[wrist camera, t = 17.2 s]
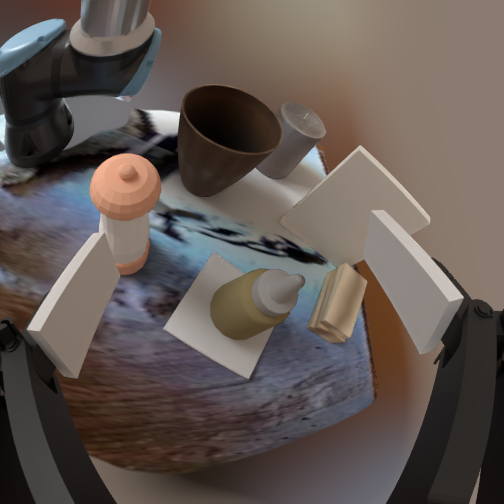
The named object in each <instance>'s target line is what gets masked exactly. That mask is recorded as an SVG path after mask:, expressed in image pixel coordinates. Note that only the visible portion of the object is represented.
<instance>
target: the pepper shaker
mask: <svg viewBox="0 0 504 504" xmlns="http://www.w3.org/2000/svg"><path fill="white" fill-rule="evenodd" d="M160 193H161V180H160V176H159V174H158V172H157V169H156V168H155V167H154V166H153V165H152V164H151V163H150V162H149V161H148V160H147V159H145V158H143V157H141V156H139V155H135V154H119V155H116V156H113V157H111V158H109V159H107V160H106V161H104V162H103V163H102V164H101V165H100V166H99V167H98V168H97V169H96V171H95V173H94V175H93V177H92V180H91V183H90V196H91V199H92V202H93V204H94V205H95V206H96V208H97V209H98V210H99V211H100V215H101V218H100V224H99V233H100V232H105V234H106V237H107V240H108V243H109V246H110V249H111V252H112V254H113V257H114V260H115V263H116V265H117V268H118V271H119V273H120V275H130V274H133V273H135V272H137V271H138V270H140V269H141V268H142V267H143V266H144V264H145V262H146V261H147V257H148V252H149V247H150V240H149V234H150V228H149V219H148V213H149V211H150V210H151V209H152V208H153V206H154V205H155V204H156V202H157V201H158V200H159V196H160Z"/></svg>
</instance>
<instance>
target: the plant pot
mask: <svg viewBox="0 0 504 504" xmlns="http://www.w3.org/2000/svg"><path fill="white" fill-rule="evenodd" d="M282 139H283V129H282V126H281V123H280V121H279V119H278V117H277V116H276V114H275V113H274V112H273V111H272V110H271V108H269V106H267V105H266V104H265V103H264V102H263V101H261V100H260V99H259V98H257V97H255V96H254V95H252V94H250V93H248V92H246V91H244V90H241V89H238V88H236V87H232V86H227V85H221V84H207V85H202V86H198V87H196V88H194V89H192V90H191V91H189V92H188V93H187V94H186V95H185V97H184V99H183V101H182V107H181V112H180V119H179V128H178V161H179V169H180V174H181V179H182V182H183V184H184V186H185V187H186V189H187V190H188V191H190V192H191V193H193V194H195V195H197V196H201V197H209V196H212V195H215V194H217V193H219V192H220V191H222V190H224V189H226V188H227V187H229V186H231V185H232V184H234V183H235V182H237V181H238V180H240V179H241V178H243V177H244V176H245V175H247V174H248V173H249V172H250V171H252V170H253V169H254V168H255V167H256V166H258V165H259V164H260V163H261V162H262V161H263V160H264V159H265V158H267V157H268V156H269V155H270V154H271V153H272V152H273V151H274V150H275V149H276V148H277V147H278V146H279V145H280V144H281V142H282Z"/></svg>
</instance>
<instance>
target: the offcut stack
mask: <svg viewBox="0 0 504 504" xmlns="http://www.w3.org/2000/svg"><path fill="white" fill-rule="evenodd" d="M366 285H367V281H366V280H365V279H364V278H363V277H362V276H361V275H360V274H358V273H357V272H356V271H355V270H354V269H353V268H352V267H350V266H349V265H348V264H347V263H344V264H342V265H340V266H339V268H337V269H335V270H333V271H331V272H329V273H327V275H326V277H325V280H324V283H323V286H322V289H321V291H320V294H319V297H318V299H317V302H316V305H315V307H314V310H313V313H312V315H311V318H310V320H309V323H308V325H307V329H309V330H311V331H312V332H314V333H315V334H317V335H318V336H320V337H322V338H323V339H325V340H326V341H328V342H330V343H335V342H337V343H342V342H345V340H346V339H347V338H350V337H351V334H352V331H353V328H354V325H355V322H356V319H357V316H358V312H359V309H360V306H361V302H362V299H363V295H364V292H365V288H366Z"/></svg>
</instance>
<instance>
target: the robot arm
mask: <svg viewBox="0 0 504 504" xmlns="http://www.w3.org/2000/svg"><path fill="white" fill-rule="evenodd" d="M150 2H151V0H82V4H81V19H79V20H78V21H77V23H76V24H75V25H74V26H73V28H72V29H66V23H65V21H64V20H62V19H60V20H59V19H52V20H48V21H44V22H41V23H38V24H36V25H33V26H31V27H29V28H27V29H25V30H23V31H21V32H20V33H18V34H16V35H15V36H14V37H13V38H11V39H10V40H8V41H7V42H6V43H5V44H4V45H3V46H2V47H1V49H0V97H1V102H2V107H3V111H4V115H5V119H6V126H5V150H6V153H7V156H8V158H9V160H10V161H11V162H12V163H13V164H15V165H17V166H20V167H32V166H36V165H40V164H42V163H45V162H47V161H49V160H50V159H52V158H54V157H55V156H56V155H58V154H59V153H60V152H61V151H62V150H63V149H64V148H65V147H66V146H67V145H68V143H69V142H70V140H71V138H72V136H73V132H74V121H73V115H72V113H71V111H70V109H69V107H68V105H67V103H66V101H65V99H64V98H67V97H92V96H93V97H95V96H98V97H102V96H103V97H104V96H105V97H119V96H133V95H136V94H138V93H139V92H140V91H141V90H142V89H143V87H144V86H145V84H146V82H147V79H148V77H149V75H150V72H151V69H152V66H153V63H154V60H155V58H156V56H157V52H158V49H159V46H160V42H161V36H162V32H161V30H160V29H157V28H155V22H154V19H153V17H152V15H151V14H150V13H149V12H148V9H149V6H150ZM363 258H364V260H365V261H366V263H367V264H368V266H369V267H370V269H371V271H372V272H373V273H374V275H375V277H376V278H377V280H378V282H379V283H380V285H381V286H382V288H383V290H384V291H385V293H386V294H387V296H388V298H389V299H390V301H391V303H392V304H393V306H394V308H395V310H396V311H397V313H398V315H399V316H400V318H401V320H402V322H403V324H404V326H405V327H406V329H407V331H408V333H409V334H410V336H411V338H412V340H413V342H414V344H415V346H416V347H417V350H418V351H419V353H420V355H421V354H424V353H427V352H430V351H433V350H435V349H436V347H437V345H438V344H439V342H440V341H441V340H442V342H443V344H444V347H443V349H442V351H441V352H440V354H439V355H438V357H437V358H436V360H435V361H434V364H436V363H437V362H438V360H440V361H439V365H438V370H437V374H436V379H435V383H434V386H433V390H432V394H431V397H430V401H429V404H428V408H427V411H426V414H425V417H424V420H423V423H422V426H421V429H420V432H419V434H418V437H417V440H416V442H415V445H414V447H413V450H412V452H411V455H410V457H409V459H408V461H407V464H406V466H405V468H404V470H403V472H402V474H401V476H400V478H399V480H398V482H397V484H396V486H395V488H394V490H393V492H392V494H391V496H390V497H389V499H388V501H387V503H386V504H469V501H470V498H471V495H472V493H473V490H474V487H475V484H476V481H477V478H478V475H479V472H480V468H481V473H480V481H479V488H478V494H477V499H476V504H504V309H503V311H493V309H492V308H491V307H490V306H489V305H488V304H487V303H486V302H484V301H482V300H478V299H475V300H472V299H471V298H470V297H469V295H468V294H467V293H466V292H465V290H464V289H463V288H462V287H461V285H460V284H459V283H458V282H457V281H456V279H454V277H453V276H452V275H451V274H450V273H449V272H448V270H447V269H446V268H445V267H444V266H443V264H441V263H440V262H438V261H437V260H436V259H434V258H430V257H429V256H428V254H427V253H426V252H425V251H424V250H423V249H422V248H421V247H420V246H419V245H418V244H417V243H416V242H415V241H414V239H412V237H411V236H410V235H409V234H408V233H407V232H406V231H405V230H404V229H403V228H402V227H401V226H400V225H399V224H398V223H397V222H396V221H395V220H394V219H393V218H392V217H391V216H390V215H388V214H387V213H386V212H385V211H384V210H371V213H370V219H369V226H368V232H367V238H366V243H365V249H364V254H363ZM119 278H120V273H119V271H118V268H117V265H116V263H115V260H114V257H113V254H112V252H111V249H110V246H109V243H108V240H107V237H106V234H105V232H100V233H93V234H92V235H91V236H90V237H89V239H88V240H87V241H86V242H85V244H84V245H83V246H82V248H81V249H80V250H79V251H78V253H77V254H76V255H75V257H74V258H73V259H72V261H71V262H70V263H69V265H68V266H67V268H66V269H65V270H64V272H63V273H62V275H61V276H60V277H59V279H58V280H57V282H56V283H55V285H54V286H53V288H52V289H51V290H50V291H49V292H48V293H47V294H46V295H45V296H44V297H43V299H42V301H41V302H40V305H38V307H37V308H36V311H35V312H34V313H33V315H32V317H31V318H30V320H29V322H28V323H27V325H26V327H25V329H24V330H23V332H22V333H21V332H20V331H19V329H18V328H17V326H16V325H15V324H14V322H13V321H12V319H10V318H3V319H1V320H0V390H1V391H2V394H1V396H0V504H117V503H116V501H115V500H114V498H113V497H112V495H111V494H110V492H109V491H108V489H107V487H106V486H105V484H104V483H103V481H102V479H101V478H100V476H99V474H98V472H97V470H96V469H95V467H94V465H93V463H92V461H91V460H90V457H89V455H88V453H87V451H86V449H85V447H84V445H83V443H82V441H81V439H80V437H79V434H78V432H77V430H76V427H75V425H74V423H73V420H72V418H71V415H70V413H69V410H68V407H67V405H66V402H65V399H64V396H63V393H62V390H61V387H60V384H59V381H58V379H57V377H56V375H55V374H54V371H55V369H56V368H57V369H58V370H59V371H60V373H61V374H62V375H63V376H66V377H71V378H78V375H79V372H80V369H81V367H82V364H83V361H84V358H85V356H86V353H87V351H88V348H89V346H90V343H91V341H92V338H93V336H94V333H95V331H96V328H97V326H98V324H99V321H100V319H101V317H102V315H103V312H104V310H105V308H106V306H107V303H108V301H109V299H110V297H111V295H112V293H113V291H114V289H115V287H116V284H117V282H118V280H119Z"/></svg>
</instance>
